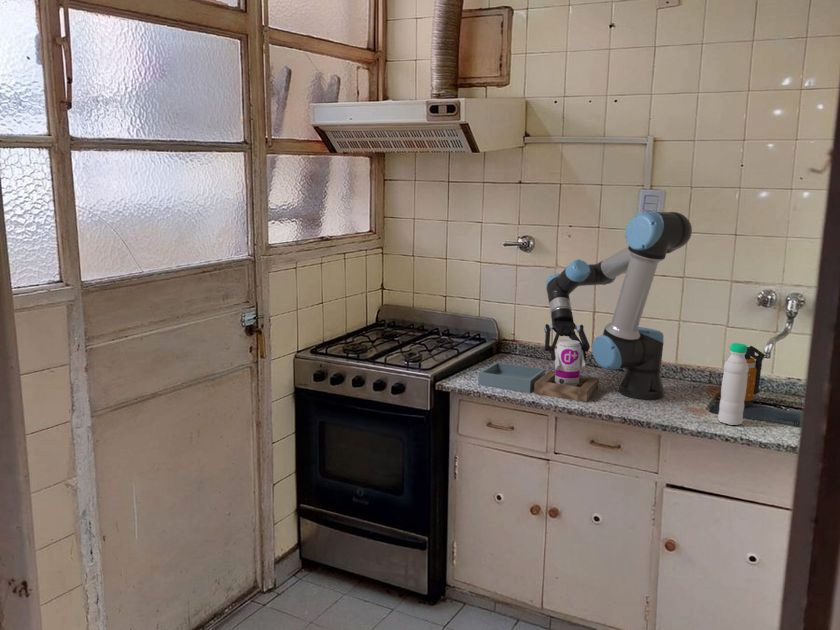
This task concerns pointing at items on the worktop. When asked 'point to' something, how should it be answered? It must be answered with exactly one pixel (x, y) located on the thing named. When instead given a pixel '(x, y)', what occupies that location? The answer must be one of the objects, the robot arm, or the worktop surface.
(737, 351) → the white plastic bottle
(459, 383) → the worktop surface
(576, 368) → the white soda can
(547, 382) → the can holder
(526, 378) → the tray
